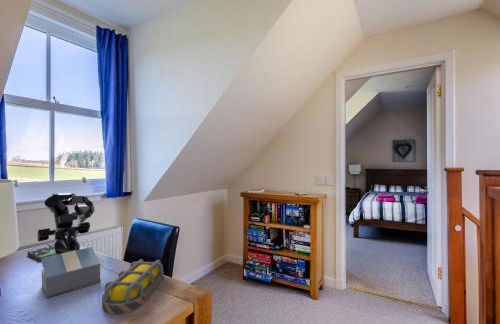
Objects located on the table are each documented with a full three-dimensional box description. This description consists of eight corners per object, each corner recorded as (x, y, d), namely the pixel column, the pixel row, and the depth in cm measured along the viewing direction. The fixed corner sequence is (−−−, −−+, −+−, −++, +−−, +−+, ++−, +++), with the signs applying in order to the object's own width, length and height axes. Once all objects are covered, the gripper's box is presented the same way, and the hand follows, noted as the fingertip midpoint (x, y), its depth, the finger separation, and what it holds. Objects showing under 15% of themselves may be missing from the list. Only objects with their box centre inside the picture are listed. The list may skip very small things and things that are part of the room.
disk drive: (26, 257, 139) (40, 262, 131) (26, 252, 139) (39, 257, 131) (49, 251, 148) (63, 255, 140) (49, 246, 148) (63, 250, 140)
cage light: (168, 256, 118) (134, 292, 88) (168, 274, 118) (134, 315, 88) (136, 256, 119) (92, 290, 89) (137, 273, 119) (92, 313, 89)
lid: (41, 260, 107) (41, 257, 106) (92, 248, 119) (92, 246, 119) (46, 279, 98) (46, 277, 98) (100, 265, 111) (100, 263, 110)
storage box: (42, 286, 107) (41, 269, 107) (92, 272, 120) (91, 257, 120) (46, 298, 98) (46, 280, 98) (100, 281, 111) (100, 265, 111)
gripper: (37, 210, 110) (41, 243, 102) (88, 204, 123) (95, 232, 115) (35, 225, 116) (39, 257, 108) (84, 217, 129) (91, 246, 121)
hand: (67, 247), depth 113 cm, fingers closed
